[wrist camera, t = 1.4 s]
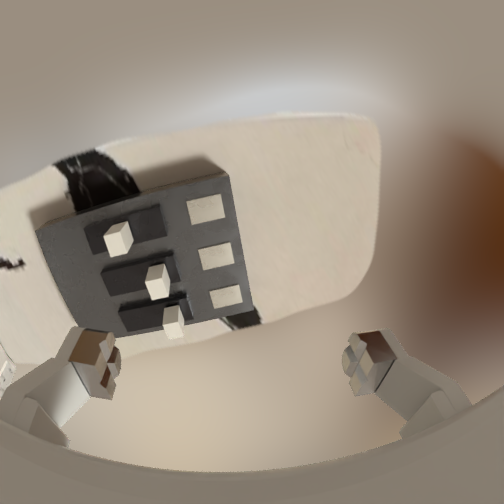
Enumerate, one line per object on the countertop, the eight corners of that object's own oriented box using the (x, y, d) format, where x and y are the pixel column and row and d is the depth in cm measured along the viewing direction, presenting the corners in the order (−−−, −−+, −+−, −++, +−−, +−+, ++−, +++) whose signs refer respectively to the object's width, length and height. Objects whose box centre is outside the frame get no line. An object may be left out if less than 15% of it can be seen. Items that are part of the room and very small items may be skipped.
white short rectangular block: (170, 322, 31) (168, 339, 28) (164, 308, 30) (162, 325, 27) (184, 319, 31) (184, 336, 29) (178, 304, 30) (178, 322, 28)
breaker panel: (93, 329, 34) (86, 346, 31) (45, 223, 27) (31, 233, 23) (249, 297, 37) (255, 314, 34) (225, 171, 30) (230, 176, 26)
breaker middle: (155, 284, 29) (152, 300, 26) (149, 267, 28) (144, 281, 25) (170, 281, 29) (168, 296, 26) (164, 263, 28) (161, 278, 25)
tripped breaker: (118, 244, 26) (110, 257, 23) (112, 225, 25) (103, 236, 22) (133, 240, 26) (127, 253, 24) (127, 221, 25) (120, 231, 23)
